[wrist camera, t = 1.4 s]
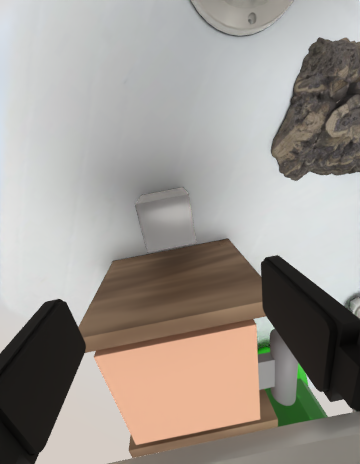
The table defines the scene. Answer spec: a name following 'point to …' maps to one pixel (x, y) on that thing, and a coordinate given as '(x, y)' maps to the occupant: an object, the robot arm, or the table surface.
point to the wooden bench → (177, 313)
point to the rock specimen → (323, 114)
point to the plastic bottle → (296, 401)
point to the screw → (355, 306)
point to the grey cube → (166, 219)
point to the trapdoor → (196, 380)
